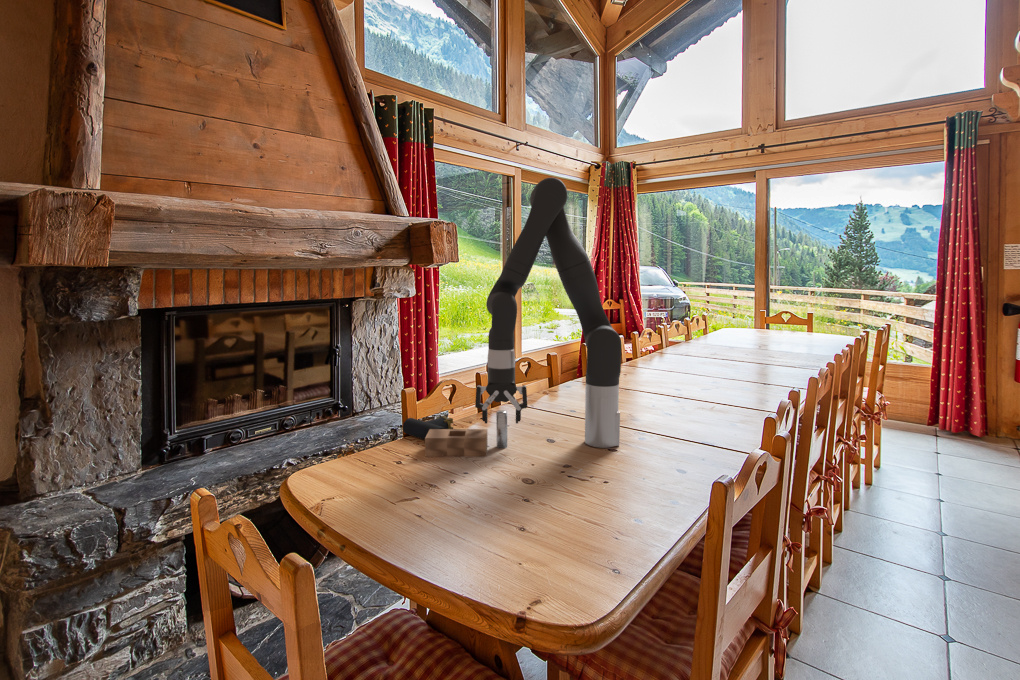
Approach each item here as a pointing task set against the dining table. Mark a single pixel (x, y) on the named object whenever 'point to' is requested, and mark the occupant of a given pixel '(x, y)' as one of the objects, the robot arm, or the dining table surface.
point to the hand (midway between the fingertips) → (501, 422)
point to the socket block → (456, 443)
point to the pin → (501, 428)
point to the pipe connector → (425, 426)
